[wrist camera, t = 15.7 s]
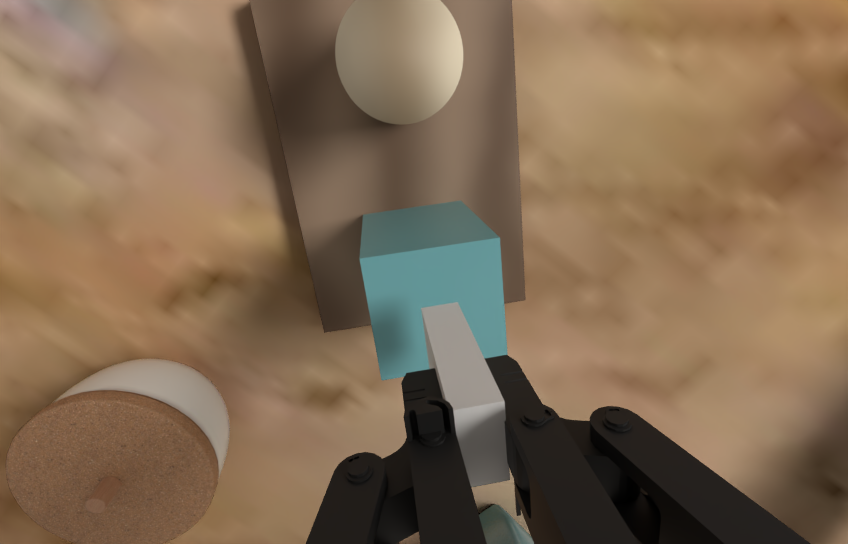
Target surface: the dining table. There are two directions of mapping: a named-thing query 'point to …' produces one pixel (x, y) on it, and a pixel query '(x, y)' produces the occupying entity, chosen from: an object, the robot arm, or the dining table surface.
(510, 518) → the flower pot
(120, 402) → the lidded jar
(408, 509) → the robot arm
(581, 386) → the dining table surface
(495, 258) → the teal rectangular block
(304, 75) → the base board
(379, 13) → the cream smooth rounded part
